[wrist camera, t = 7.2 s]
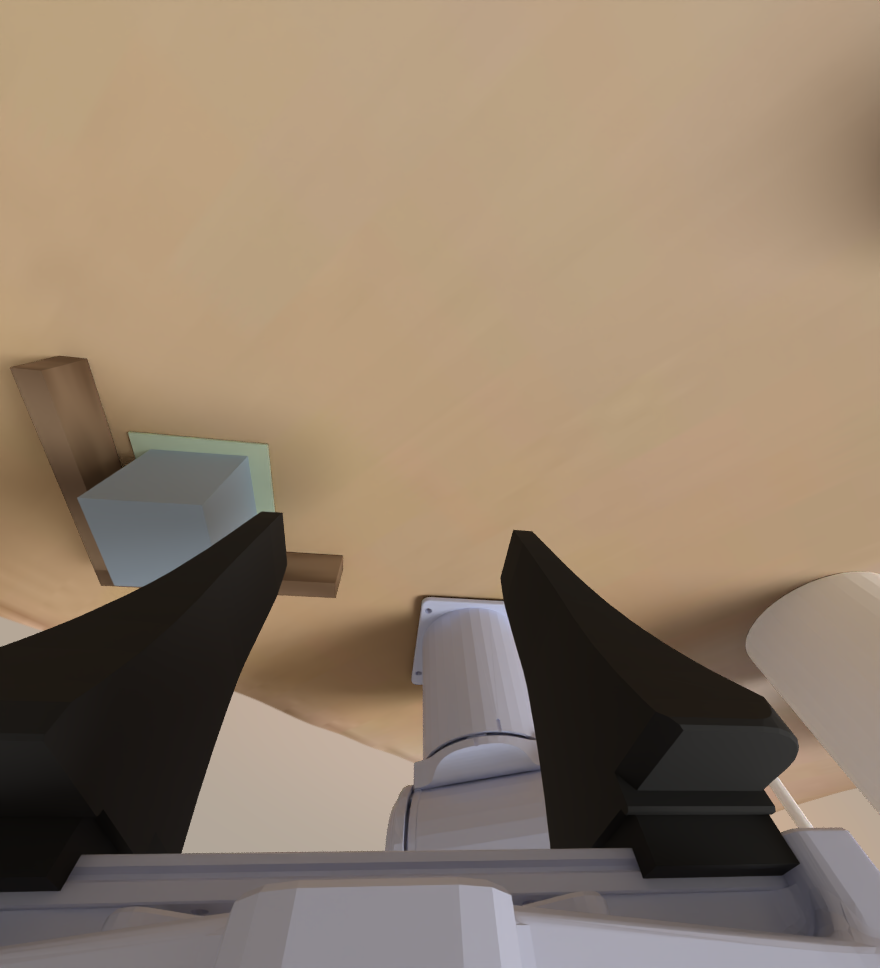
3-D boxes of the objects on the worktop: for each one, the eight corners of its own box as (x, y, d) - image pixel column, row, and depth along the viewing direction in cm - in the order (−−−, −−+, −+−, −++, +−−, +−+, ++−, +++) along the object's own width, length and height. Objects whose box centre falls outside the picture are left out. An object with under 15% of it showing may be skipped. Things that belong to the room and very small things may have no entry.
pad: (278, 545, 24) (277, 547, 24) (161, 537, 23) (159, 539, 23) (267, 443, 21) (266, 445, 20) (129, 431, 20) (127, 432, 20)
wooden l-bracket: (342, 569, 25) (335, 598, 23) (130, 556, 24) (101, 585, 22) (342, 386, 19) (332, 401, 17) (59, 355, 18) (9, 367, 16)
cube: (247, 456, 21) (202, 505, 16) (259, 530, 23) (222, 590, 19) (150, 449, 20) (77, 497, 16) (173, 525, 23) (114, 585, 18)
